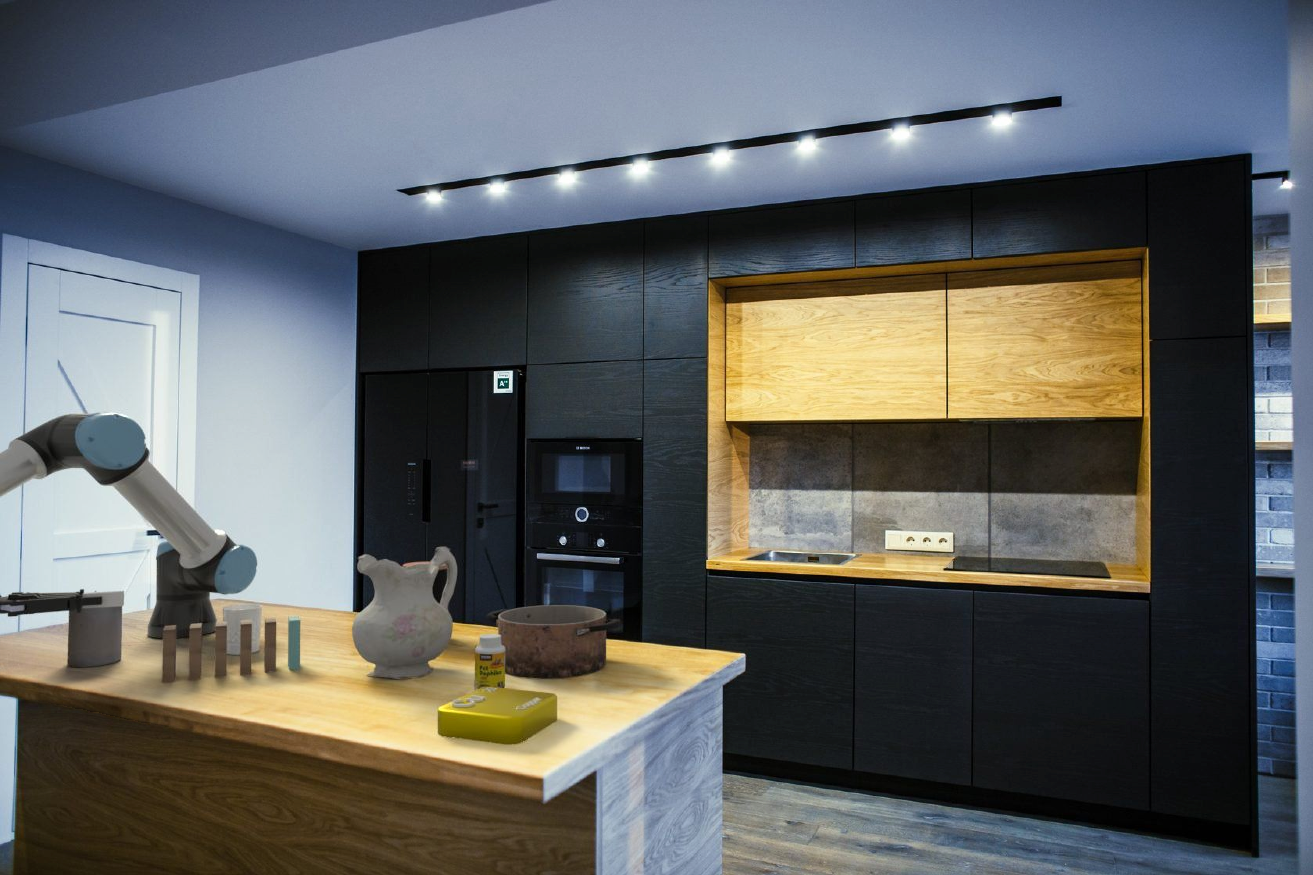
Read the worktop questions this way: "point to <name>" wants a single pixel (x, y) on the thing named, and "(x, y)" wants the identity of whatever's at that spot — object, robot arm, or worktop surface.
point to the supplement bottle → (490, 662)
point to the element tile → (497, 715)
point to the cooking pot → (553, 640)
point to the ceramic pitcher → (404, 616)
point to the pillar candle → (94, 636)
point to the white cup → (234, 618)
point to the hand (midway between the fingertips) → (123, 598)
